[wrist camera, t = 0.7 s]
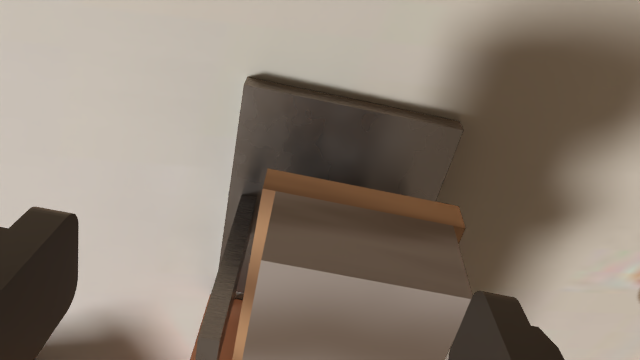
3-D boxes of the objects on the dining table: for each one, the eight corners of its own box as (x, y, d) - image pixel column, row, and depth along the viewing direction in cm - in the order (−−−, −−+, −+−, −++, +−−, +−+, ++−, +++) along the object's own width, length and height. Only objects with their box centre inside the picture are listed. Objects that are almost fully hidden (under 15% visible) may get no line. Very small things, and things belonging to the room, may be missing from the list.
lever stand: (247, 76, 31) (193, 200, 20) (459, 121, 32) (518, 263, 21) (219, 276, 40) (170, 440, 29) (388, 307, 41) (404, 478, 30)
